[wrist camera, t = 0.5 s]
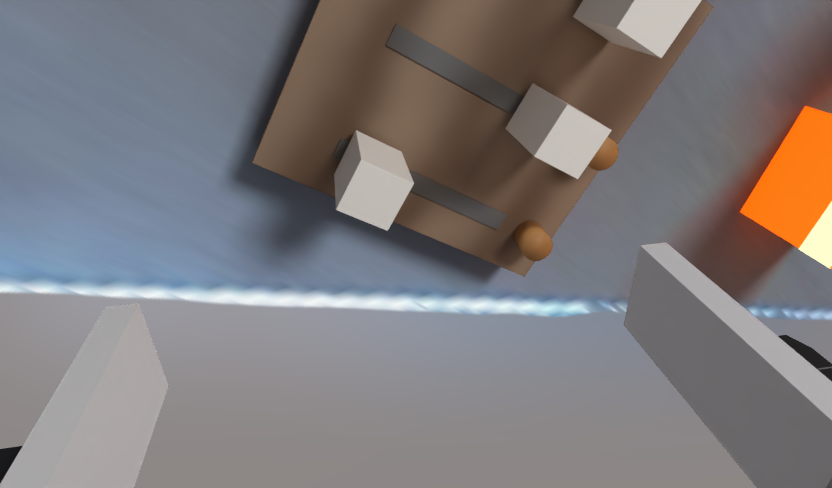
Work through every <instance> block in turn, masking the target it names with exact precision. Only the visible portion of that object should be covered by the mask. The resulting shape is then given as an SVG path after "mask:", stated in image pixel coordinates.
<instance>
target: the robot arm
mask: <svg viewBox="0 0 832 488" xmlns="http://www.w3.org/2000/svg"><path fill="white" fill-rule="evenodd" d="M624 326H625V327H626V328H627V329H628V330H629V332H630V333H631V334H632V336H633V337H634V338H635V339H636V340H637V342H638V343H639V344H640V345H641V347H642V348H643V349H644V350H645V351H646V353H647V354H648V355H649V356H650V357H651V359H652V360H653V361H654V362H655V364H656V365H657V366H658V367H659V368H660V370H661V371H662V372H663V373H664V375H665V376H666V377H667V378H668V380H669V381H670V382H671V383H672V384H673V386H674V387H675V388H676V389H677V391H678V392H679V393H680V394H681V395H682V397H683V398H684V399H685V400H686V402H687V403H688V404H689V405H690V406H691V408H692V409H693V410H694V411H695V413H696V414H697V415H698V416H699V417H700V419H701V420H702V421H703V422H704V424H705V425H706V426H707V427H708V428H709V430H710V431H711V432H712V433H713V435H714V436H715V437H716V438H717V439H718V441H719V442H720V443H721V444H722V446H723V447H724V448H725V449H726V450H727V452H728V453H729V454H730V455H731V457H732V458H733V459H734V460H735V461H736V463H737V464H738V465H739V466H740V468H741V469H742V470H743V471H744V472H745V474H746V475H747V476H748V477H749V479H750V480H751V481H752V482H753V484H754V485H755V486H756V487H757V488H832V364H831V363H830V362H828V361H827V360H826V359H825V358H824V357H822V356H821V355H820V354H819V353H817V352H816V351H815V350H814V349H812V348H811V347H809V346H807V345H805V344H803V343H801V342H799V341H797V340H795V339H793V338H791V337H789V336H787V335H782V336H777V335H776V334H774V333H773V332H772V331H771V330H770V329H769V328H767V327H766V326H765V325H764V324H763V323H761V322H760V321H759V320H758V319H757V318H755V317H754V316H753V315H752V314H751V313H749V312H748V311H747V310H746V309H745V308H743V307H742V306H741V305H740V304H739V303H738V302H736V301H735V300H734V299H733V298H732V297H730V296H729V295H728V294H727V293H726V292H724V291H723V290H722V289H721V288H720V287H718V286H717V285H716V284H715V283H714V282H712V281H711V280H710V279H709V278H708V277H707V276H705V275H704V274H703V273H702V272H701V271H699V270H698V269H697V268H696V267H695V266H693V265H692V264H691V263H690V262H689V261H687V260H686V259H685V258H684V257H683V256H681V255H680V254H679V253H678V252H677V251H676V250H674V249H673V248H672V247H671V246H670V245H668V244H667V243H658V244H650V245H641V246H640V250H639V254H638V259H637V264H636V269H635V273H634V278H633V283H632V288H631V293H630V297H629V302H628V307H627V312H626V316H625V321H624ZM167 390H168V383H167V380H166V378H165V375H164V372H163V369H162V366H161V364H160V361H159V358H158V355H157V352H156V350H155V347H154V344H153V341H152V339H151V336H150V333H149V330H148V327H147V325H146V322H145V319H144V316H143V314H142V311H141V308H140V305H139V303H135V304H128V305H119V306H110V307H105V308H104V310H103V312H102V314H101V315H100V317H99V319H98V320H97V322H96V324H95V325H94V327H93V329H92V330H91V332H90V334H89V335H88V337H87V339H86V341H85V342H84V344H83V346H82V347H81V349H80V350H79V352H78V354H77V356H76V357H75V359H74V361H73V362H72V364H71V366H70V367H69V369H68V371H67V373H66V374H65V376H64V377H63V379H62V381H61V383H60V384H59V386H58V388H57V389H56V391H55V393H54V394H53V396H52V398H51V399H50V401H49V403H48V404H47V406H46V408H45V409H44V411H43V413H42V414H41V416H40V418H39V419H38V421H37V423H36V425H35V426H34V428H33V430H32V431H31V433H30V435H29V436H28V438H27V440H26V441H25V443H24V445H23V446H19V447H12V448H5V449H0V488H134V486H135V483H136V480H137V477H138V474H139V472H140V468H141V466H142V463H143V460H144V457H145V454H146V451H147V448H148V445H149V442H150V439H151V436H152V433H153V431H154V428H155V425H156V422H157V419H158V416H159V413H160V410H161V407H162V404H163V401H164V398H165V395H166V392H167Z"/></svg>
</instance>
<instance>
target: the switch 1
mask: <svg viewBox="0 0 832 488" xmlns="http://www.w3.org/2000/svg"><path fill="white" fill-rule="evenodd" d="M334 181H335V201H336V210H337V211H340V212H342V213H345V214H347V215H350V216H352V217H355V218H357V219H359V220H362V221H364V222H367V223H369V224H372V225H374V226H377V227H379V228H382V229H384V230H386V231H388V229H389V228H390V226H391V224H392V222H393V221H394V219H395V217H396V215H397V213H398V212H399V210H400V208H401V206H402V204H403V203H404V201H405V199H406V197H407V195H408V194H409V192H410V190H411V188H412V186H413V185H414V182H413V179H412V177H411V174H410V172H409V169H408V167H407V164H406V162H405V159H404V157H403V154H402V152H401V151H399V150H397V149H395V148H393V147H391V146H388V145H386V144H384V143H382V142H380V141H378V140H376V139H374V138H372V137H369V136H367V135H365V134H363V133H361V132H359V131H357V130H356V131H355V133H354V135H353V137H352V139H351V141H350V143H349V145H348V147H347V149H346V151H345V153H344V155H343V157H342V159H341V162H340V164H339V166H338V168H337V170H336V172H335V174H334Z"/></svg>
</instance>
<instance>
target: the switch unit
mask: <svg viewBox="0 0 832 488" xmlns="http://www.w3.org/2000/svg"><path fill="white" fill-rule="evenodd" d="M582 1H583V0H319V1H318V4H317V6H316V9H315V11H314V13H313V16H312V18H311V21H310V23H309V25H308V28H307V30H306V32H305V35H304V37H303V40H302V42H301V44H300V47H299V49H298V52H297V54H296V56H295V59H294V61H293V64H292V66H291V68H290V71H289V73H288V76H287V78H286V80H285V83H284V85H283V88H282V90H281V92H280V95H279V97H278V100H277V102H276V104H275V107H274V109H273V112H272V114H271V116H270V119H269V121H268V124H267V126H266V128H265V131H264V133H263V135H262V138H261V140H260V143H259V145H258V148H257V151H256V154H255V156H254V159H253V162H252V163H254V164H256V165H258V166H261V167H263V168H266V169H268V170H270V171H273V172H275V173H278V174H280V175H282V176H285V177H287V178H290V179H292V180H294V181H297V182H299V183H301V184H304V185H306V186H309V187H311V188H313V189H316V190H318V191H321V192H323V193H325V194H328V195H330V196H333V197H335V181H334V174H335V172H336V170H337V168H338V166H339V164H340V162H341V159H342V157H343V155H344V153H345V151H346V149H347V147H348V145H349V143H350V141H351V139H352V137H353V135H354V133H355V131H356V130H357V131H359V132H361V133H363V134H365V135H367V136H369V137H372V138H374V139H376V140H378V141H380V142H382V143H384V144H386V145H388V146H391V147H393V148H395V149H397V150H399V151H401V152H402V154H403V157H404V159H405V162H406V164H407V167H408V169H409V172H410V174H411V177H412V179H413V182H414V185H413V186H412V188H411V190H410V192H409V194H408V195H407V197H406V199H405V201H404V203H403V204H402V206H401V208H400V210H399V212H398V213H397V215H396V217H395V219H394V221H393V222H395V223H397V224H400V225H402V226H405V227H407V228H409V229H412V230H414V231H417V232H419V233H421V234H424V235H426V236H429V237H431V238H433V239H436V240H438V241H441V242H443V243H445V244H448V245H450V246H453V247H455V248H457V249H460V250H462V251H464V252H467V253H469V254H472V255H474V256H476V257H479V258H481V259H484V260H486V261H488V262H491V263H493V264H496V265H498V266H500V267H503V268H505V269H508V270H510V271H512V272H515V273H517V274H520V275H522V276H524V277H525V275H526V274H527V272H528V271H529V269H530V268H531V267H532V265H533V264H534V262H535V261H539V260H542V259H544V258H546V257H547V256H548V255H549V254H550V252H551V250H552V247H553V243H552V240H551V238H552V237H553V235H554V234H555V232H556V231H557V230H558V228H559V227H560V225H561V224H562V222H563V221H564V220H565V218H566V217H567V215H568V214H569V213H570V211H571V210H572V208H573V207H574V205H575V204H576V203H577V201H578V200H579V198H580V197H581V195H582V194H583V193H584V191H585V190H586V188H587V187H588V186H589V184H590V183H591V181H592V180H593V178H594V177H595V176H596V174H597V173H598V171H601V170H605V169H607V168H609V167H610V166H612V165H613V164H614V162H615V161H616V159H617V157H618V152H619V150H618V146H617V144H618V143H619V141H620V140H621V139H622V137H623V136H624V134H625V133H626V131H627V130H628V129H629V127H630V126H631V124H632V123H633V121H634V120H635V119H636V117H637V116H638V114H639V113H640V112H641V110H642V109H643V107H644V106H645V104H646V103H647V102H648V100H649V99H650V97H651V96H652V94H653V93H654V92H655V90H656V89H657V87H658V86H659V84H660V83H661V82H662V80H663V79H664V77H665V76H666V75H667V73H668V72H669V70H670V69H671V67H672V66H673V65H674V63H675V62H676V60H677V59H678V57H679V56H680V55H681V53H682V52H683V50H684V49H685V47H686V46H687V45H688V43H689V42H690V40H691V39H692V38H693V36H694V35H695V33H696V32H697V30H698V29H699V28H700V26H701V25H702V23H703V22H704V20H705V19H706V18H707V16H708V15H709V13H710V12H711V10H712V9H713V8H714V7H713V6H712V5H711V4H709V3H708V2H707V1H705V0H701V2H700V3H699V5H698V6H697V8H696V9H695V11H694V12H693V13H692V15H691V16H690V18H689V19H688V21H687V22H686V24H685V25H684V27H683V28H682V29H681V31H680V32H679V34H678V35H677V37H676V38H675V40H674V41H673V42H672V44H671V45H670V47H669V48H668V50H667V51H666V53H665V54H664V55H663V57H662V58H659V57H655V56H652V55H649V54H646V53H642V52H639V51H636V50H633V49H629V48H626V47H623V46H620V45H616V44H613V43H611V42H610V41H608V40H607V39H605V38H604V37H602V36H601V35H599V34H598V33H596V32H595V31H593V30H592V29H590V28H589V27H587V26H586V25H584V24H583V23H581V22H580V21H578V20H577V19H575V18H574V17H573V16H574V14H575V13H576V11H577V9H578V8H579V6H580V4H581V3H582ZM532 83H534V84H535V85H537V86H539V87H540V88H542V89H544V90H546V91H547V92H549V93H551V94H552V95H554V96H556V97H558V98H559V99H561V100H563V101H564V102H566V103H568V104H570V105H571V106H573V107H575V108H576V109H578V110H579V111H581V112H583V113H584V114H586V115H588V116H589V117H591V118H593V119H594V120H596V121H597V122H599V123H601V124H602V125H604V126H606V127H607V128H609V129H611V130H612V131H611V132H610V134H609V135H608V137H607V138H606V139H605V141H604V142H603V144H602V145H601V147H600V148H599V150H598V151H597V152H596V154H595V155H594V157H593V158H592V160H591V161H590V163H589V164H588V166H587V167H586V168H585V170H584V171H583V173H582V174H581V176H580V177H579V179H576V178H574V177H573V176H571V175H569V174H567V173H565V172H563V171H561V170H559V169H557V168H555V167H553V166H552V165H550V164H548V163H546V162H544V161H542V160H540V159H538V158H536V157H534V156H533V155H532V154H531V153H530V152H529V151H528V150H527V149H526V148H525V147H524V146H523V145H522V144H521V143H520V142H519V141H518V140H517V139H515V138H514V137H513V136H512V135H511V134H510V133H509V132H508V131H507V130H506V129H505V128H506V126H507V125H508V123H509V121H510V120H511V118H512V117H513V115H514V113H515V112H516V110H517V108H518V107H519V105H520V103H521V102H522V100H523V98H524V97H525V95H526V93H527V92H528V90H529V88H530V87H531V85H532Z"/></svg>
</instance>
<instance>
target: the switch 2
mask: <svg viewBox="0 0 832 488" xmlns="http://www.w3.org/2000/svg"><path fill="white" fill-rule="evenodd" d="M505 129H506V130H507V131H508V132H509V133H510V134H511V135H512V136H513V137H514V138H515V139H517V140H518V141H519V142H520V143H521V144H522V145H523V146H524V147H525V148H526V149H527V150H528V151H529V152H530V153H531V154H532V155H533V156H534V157H536V158H538V159H540V160H542V161H544V162H546V163H548V164H550V165H552V166H553V167H555V168H557V169H559V170H561V171H563V172H565V173H567V174H569V175H571V176H573V177H574V178H576V179H579V177H580V176H581V174H582V173H583V171H584V170H585V168H586V167H587V166H588V164H589V163H590V161H591V160H592V158H593V157H594V155H595V154H596V152H597V151H598V150H599V148H600V147H601V145H602V144H603V142H604V141H605V139H606V138H607V137H608V135H609V134H610V132H611V131H612V130H611V129H609V128H607V127H606V126H604V125H602V124H601V123H599V122H597V121H596V120H594V119H593V118H591V117H589V116H588V115H586V114H584V113H583V112H581V111H579V110H578V109H576V108H575V107H573V106H571V105H570V104H568V103H566V102H564V101H563V100H561V99H559V98H558V97H556V96H554V95H552V94H551V93H549V92H547V91H546V90H544V89H542V88H540V87H539V86H537V85H535V84H534V83H532V85H531V87H530V88H529V90H528V92H527V93H526V95H525V97H524V98H523V100H522V102H521V103H520V105H519V107H518V108H517V110H516V112H515V113H514V115H513V117H512V118H511V120H510V121H509V123H508V125H507V126H506V128H505Z"/></svg>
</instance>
